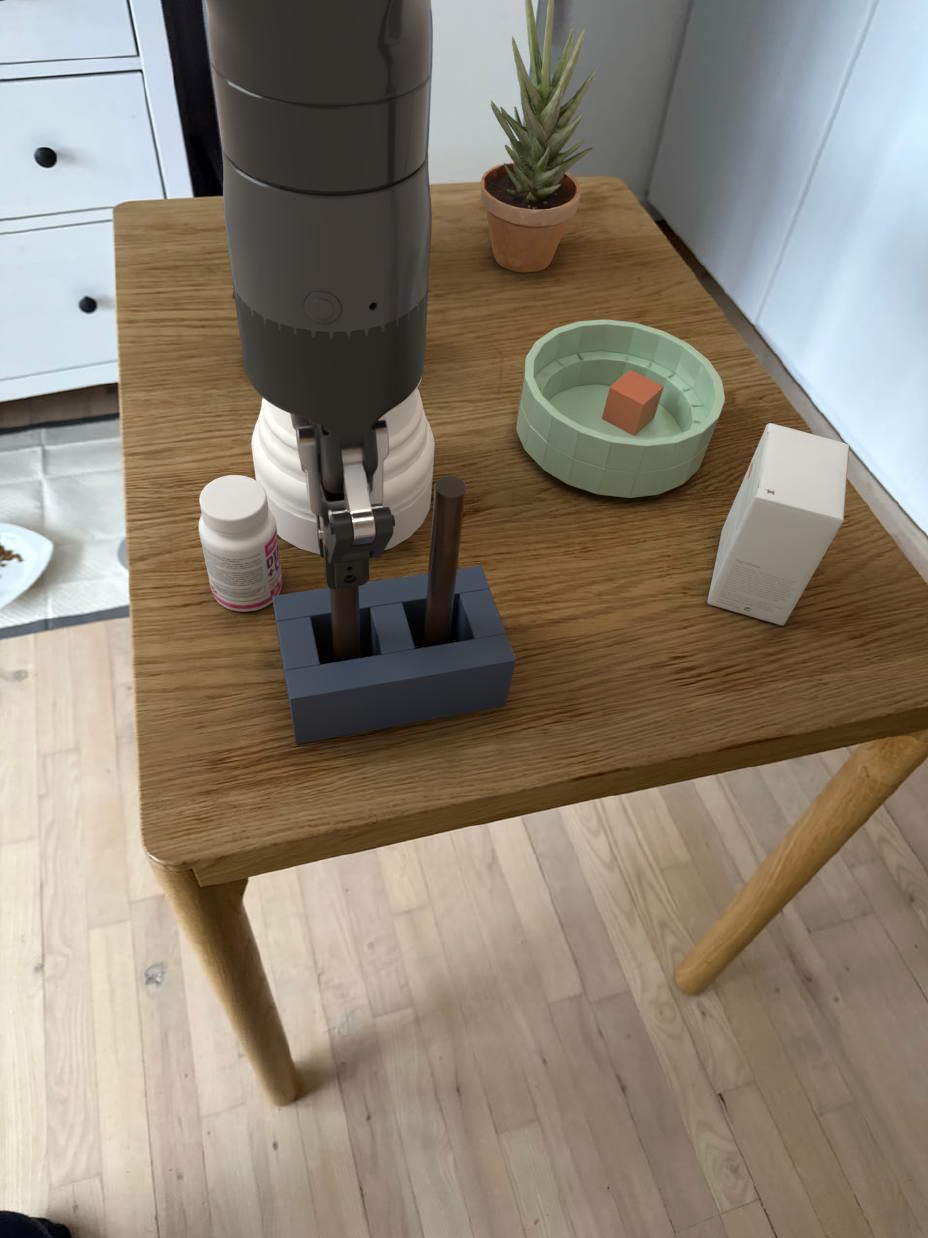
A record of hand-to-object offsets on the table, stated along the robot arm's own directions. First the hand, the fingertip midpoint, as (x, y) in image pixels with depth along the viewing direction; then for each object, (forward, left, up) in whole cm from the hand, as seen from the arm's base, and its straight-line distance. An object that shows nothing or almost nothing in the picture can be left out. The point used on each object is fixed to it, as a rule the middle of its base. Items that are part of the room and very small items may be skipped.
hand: (343, 566), depth 48 cm
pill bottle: (+2, -10, -11) cm, 15 cm away
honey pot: (-8, -15, -11) cm, 20 cm away
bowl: (-30, -11, -11) cm, 34 cm away
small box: (-30, +6, -11) cm, 32 cm away
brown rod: (0, 0, -11) cm, 11 cm away
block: (-32, -12, -10) cm, 36 cm away
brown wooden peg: (-5, +2, -11) cm, 12 cm away
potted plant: (-39, -37, -11) cm, 55 cm away
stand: (-3, +1, -11) cm, 11 cm away
